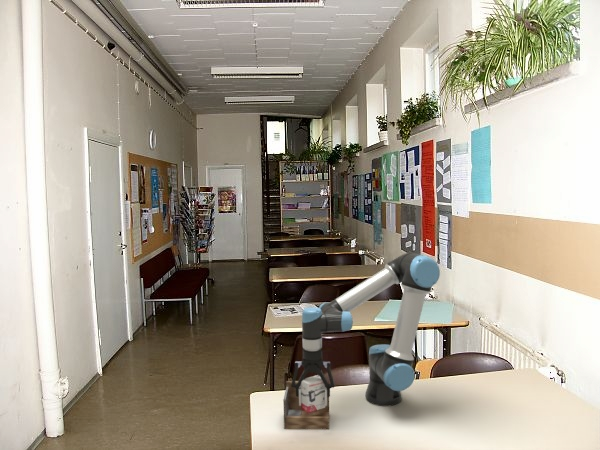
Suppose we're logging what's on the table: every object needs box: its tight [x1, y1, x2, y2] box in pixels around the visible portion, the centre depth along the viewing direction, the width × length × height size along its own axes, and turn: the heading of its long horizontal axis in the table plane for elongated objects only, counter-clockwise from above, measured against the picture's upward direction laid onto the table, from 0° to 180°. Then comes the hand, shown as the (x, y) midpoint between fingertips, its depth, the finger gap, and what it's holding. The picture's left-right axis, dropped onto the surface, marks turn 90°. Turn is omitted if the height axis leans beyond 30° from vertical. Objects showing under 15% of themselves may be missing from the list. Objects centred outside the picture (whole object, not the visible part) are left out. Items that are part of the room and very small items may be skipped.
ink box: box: [301, 374, 325, 413], centre depth 197 cm, size 8×5×12 cm, turn 123°
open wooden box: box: [283, 380, 330, 430], centre depth 198 cm, size 17×13×14 cm
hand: (313, 404), depth 197 cm, fingers closed on ink box, 9 cm apart
